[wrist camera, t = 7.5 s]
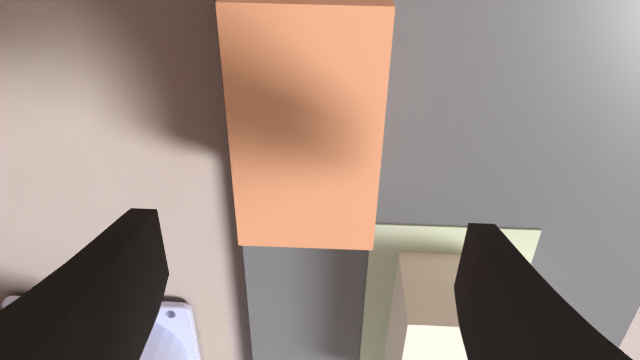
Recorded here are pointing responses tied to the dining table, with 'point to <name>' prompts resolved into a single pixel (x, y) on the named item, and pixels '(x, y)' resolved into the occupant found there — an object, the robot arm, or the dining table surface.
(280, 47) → the terracotta brick
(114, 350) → the robot arm
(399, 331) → the cream brick
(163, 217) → the dining table surface
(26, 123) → the dining table surface
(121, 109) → the dining table surface
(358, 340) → the baseplate
